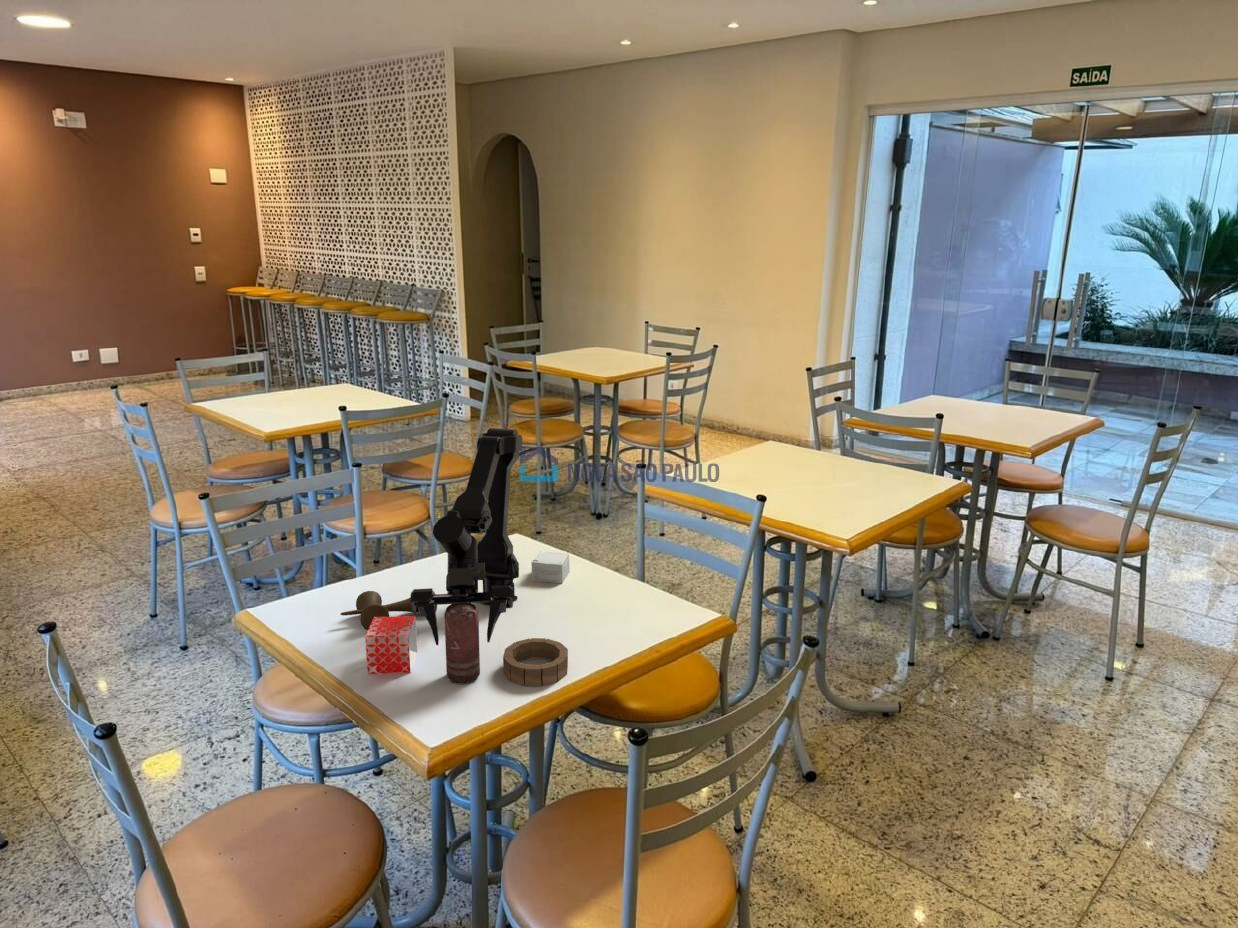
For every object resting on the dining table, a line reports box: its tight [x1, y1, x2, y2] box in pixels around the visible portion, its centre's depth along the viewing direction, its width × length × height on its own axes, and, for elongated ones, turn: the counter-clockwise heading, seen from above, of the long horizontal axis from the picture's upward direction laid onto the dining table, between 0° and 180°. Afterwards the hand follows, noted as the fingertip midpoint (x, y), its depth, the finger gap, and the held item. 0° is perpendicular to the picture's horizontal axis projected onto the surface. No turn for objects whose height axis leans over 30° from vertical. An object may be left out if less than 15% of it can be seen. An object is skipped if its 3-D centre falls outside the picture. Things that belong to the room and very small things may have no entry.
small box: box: [531, 550, 571, 585], centre depth 198 cm, size 8×8×5 cm
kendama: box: [339, 590, 438, 632], centre depth 175 cm, size 6×10×20 cm
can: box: [443, 602, 481, 685], centre depth 151 cm, size 6×6×14 cm
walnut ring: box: [502, 637, 569, 687], centre depth 155 cm, size 12×12×4 cm
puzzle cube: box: [364, 615, 418, 675], centre depth 156 cm, size 8×8×8 cm
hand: (462, 643), depth 149 cm, fingers open, 9 cm apart
